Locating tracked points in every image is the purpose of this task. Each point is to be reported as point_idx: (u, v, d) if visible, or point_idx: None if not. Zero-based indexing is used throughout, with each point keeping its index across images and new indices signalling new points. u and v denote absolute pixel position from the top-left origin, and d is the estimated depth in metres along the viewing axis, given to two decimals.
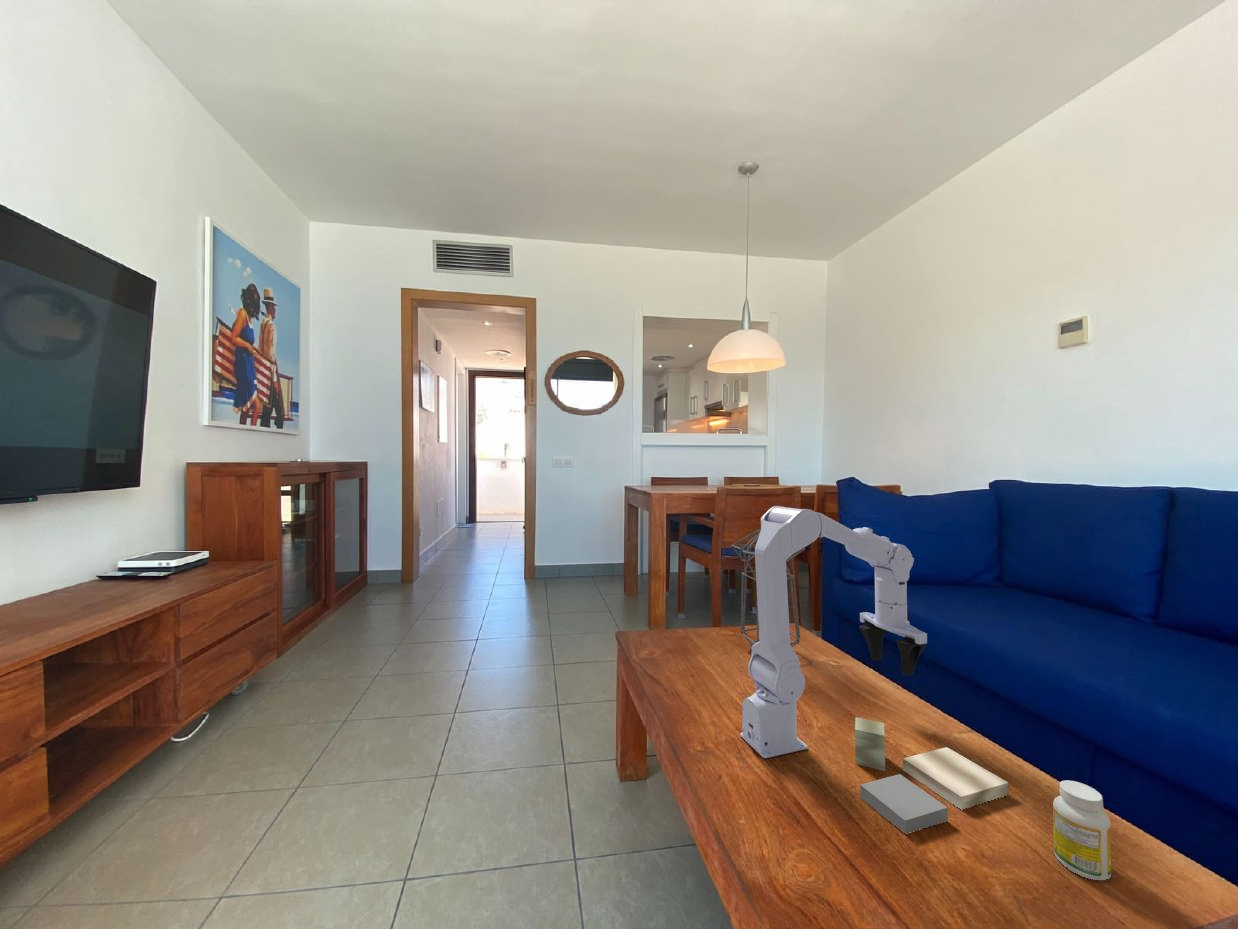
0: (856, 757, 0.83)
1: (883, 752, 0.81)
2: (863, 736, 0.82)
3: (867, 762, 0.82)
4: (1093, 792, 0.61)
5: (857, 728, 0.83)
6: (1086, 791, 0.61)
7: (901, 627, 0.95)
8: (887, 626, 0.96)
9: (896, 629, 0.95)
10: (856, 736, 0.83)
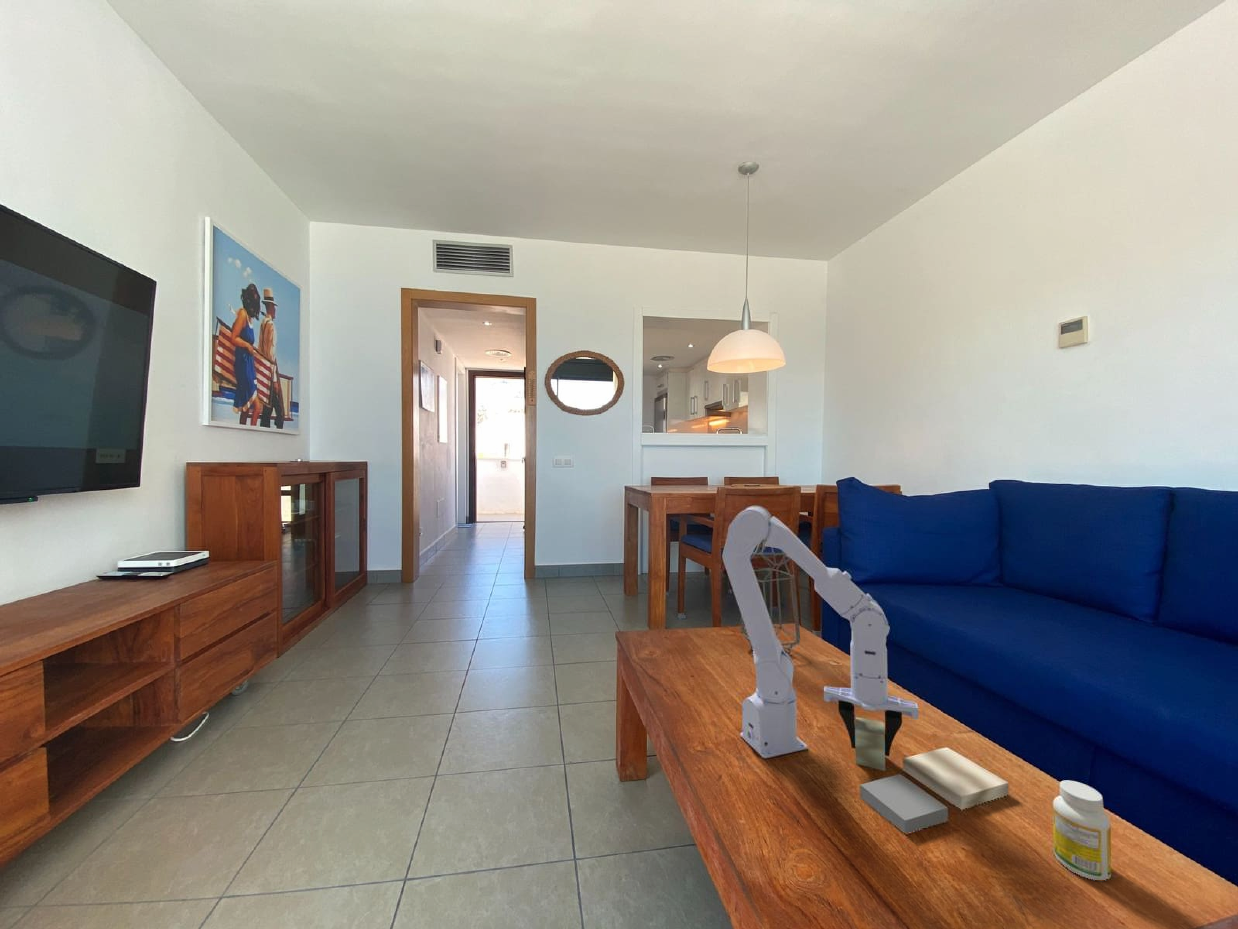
0: (856, 757, 0.83)
1: (883, 752, 0.81)
2: (863, 736, 0.82)
3: (867, 762, 0.82)
4: (1093, 792, 0.61)
5: (857, 728, 0.83)
6: (1086, 791, 0.61)
7: (850, 692, 0.86)
8: None
9: None
10: (856, 736, 0.83)
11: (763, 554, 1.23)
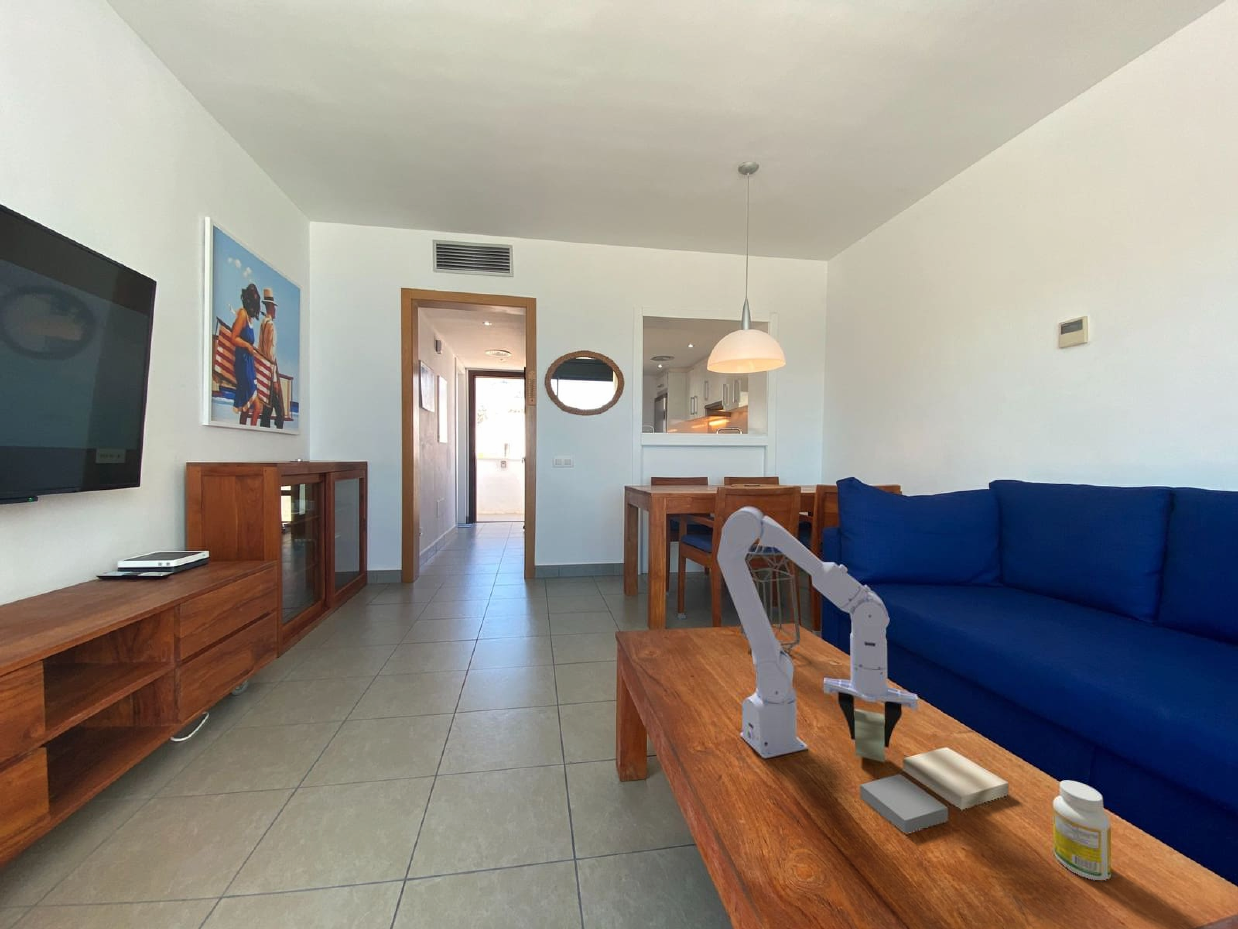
0: (856, 748, 0.83)
1: (883, 743, 0.81)
2: (862, 727, 0.82)
3: (867, 753, 0.82)
4: (1093, 792, 0.61)
5: (857, 719, 0.83)
6: (1086, 791, 0.61)
7: (850, 683, 0.86)
8: None
9: None
10: (856, 727, 0.83)
11: (763, 554, 1.23)
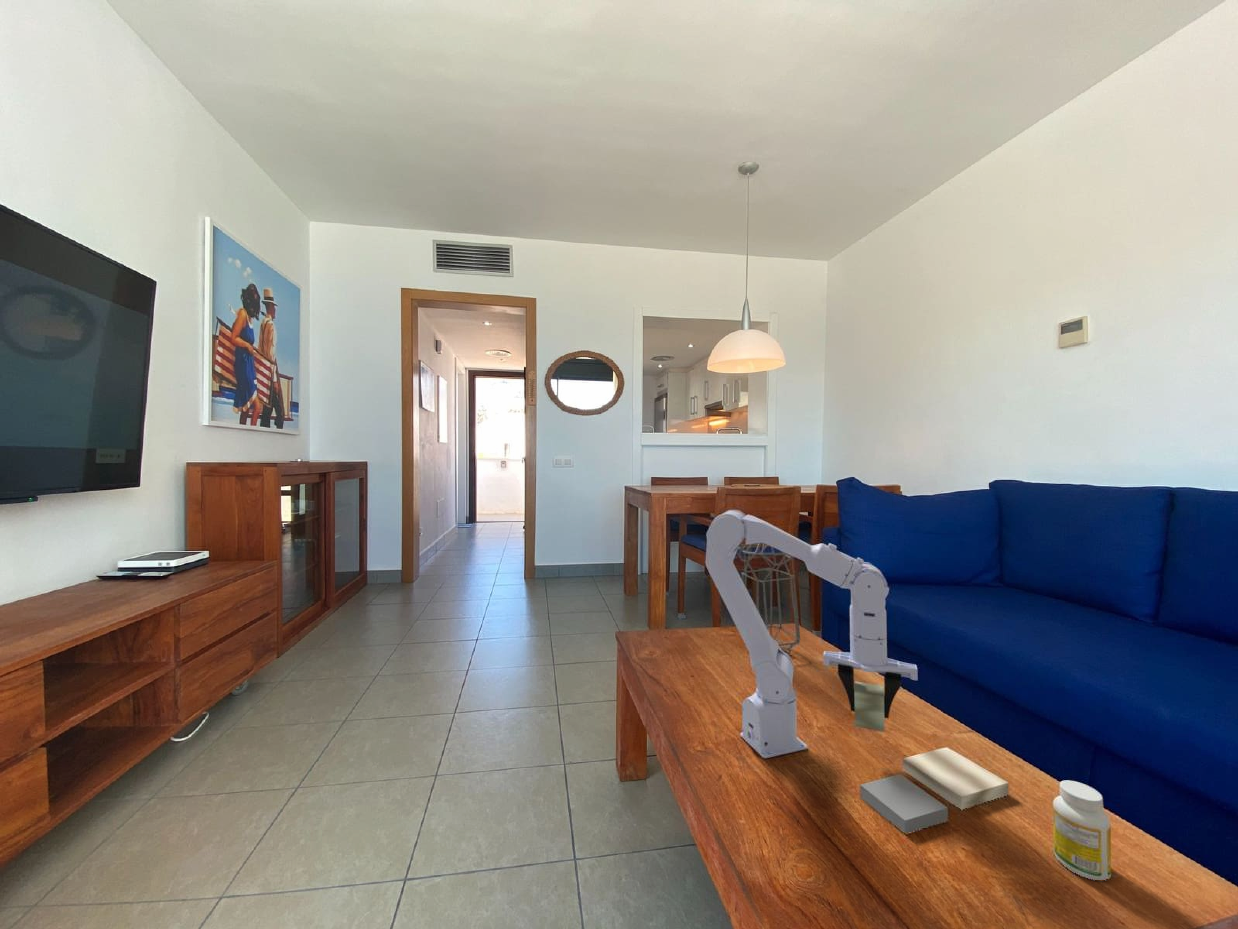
0: (855, 719, 0.83)
1: (882, 713, 0.81)
2: (862, 698, 0.82)
3: (866, 724, 0.82)
4: (1093, 792, 0.61)
5: (857, 691, 0.83)
6: (1086, 791, 0.61)
7: (850, 656, 0.86)
8: None
9: None
10: (855, 698, 0.83)
11: (763, 554, 1.23)
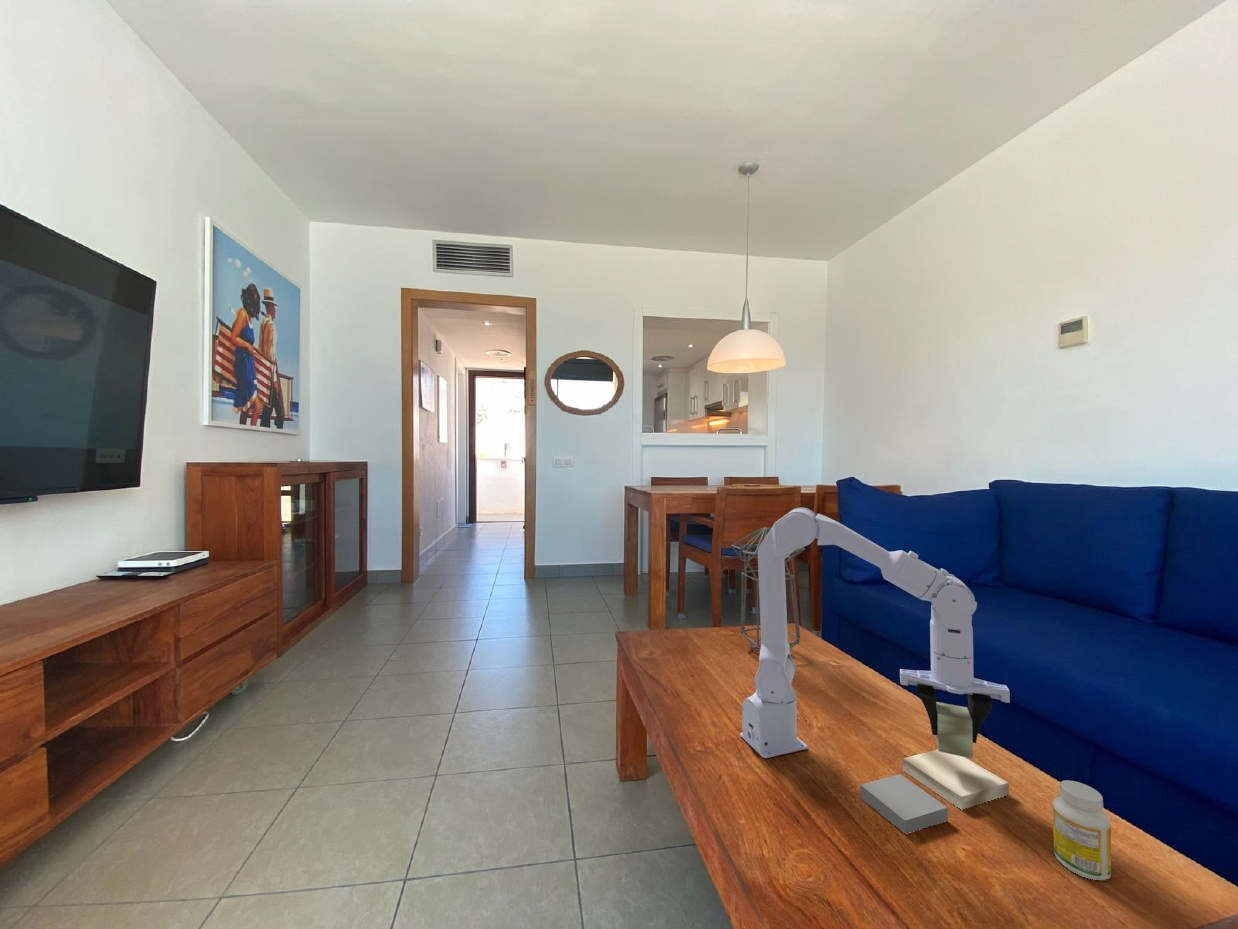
0: (939, 744, 0.77)
1: (970, 738, 0.75)
2: (947, 721, 0.76)
3: (952, 749, 0.76)
4: (1093, 792, 0.61)
5: (940, 713, 0.77)
6: (1086, 791, 0.61)
7: (930, 675, 0.80)
8: None
9: None
10: (939, 721, 0.77)
11: None
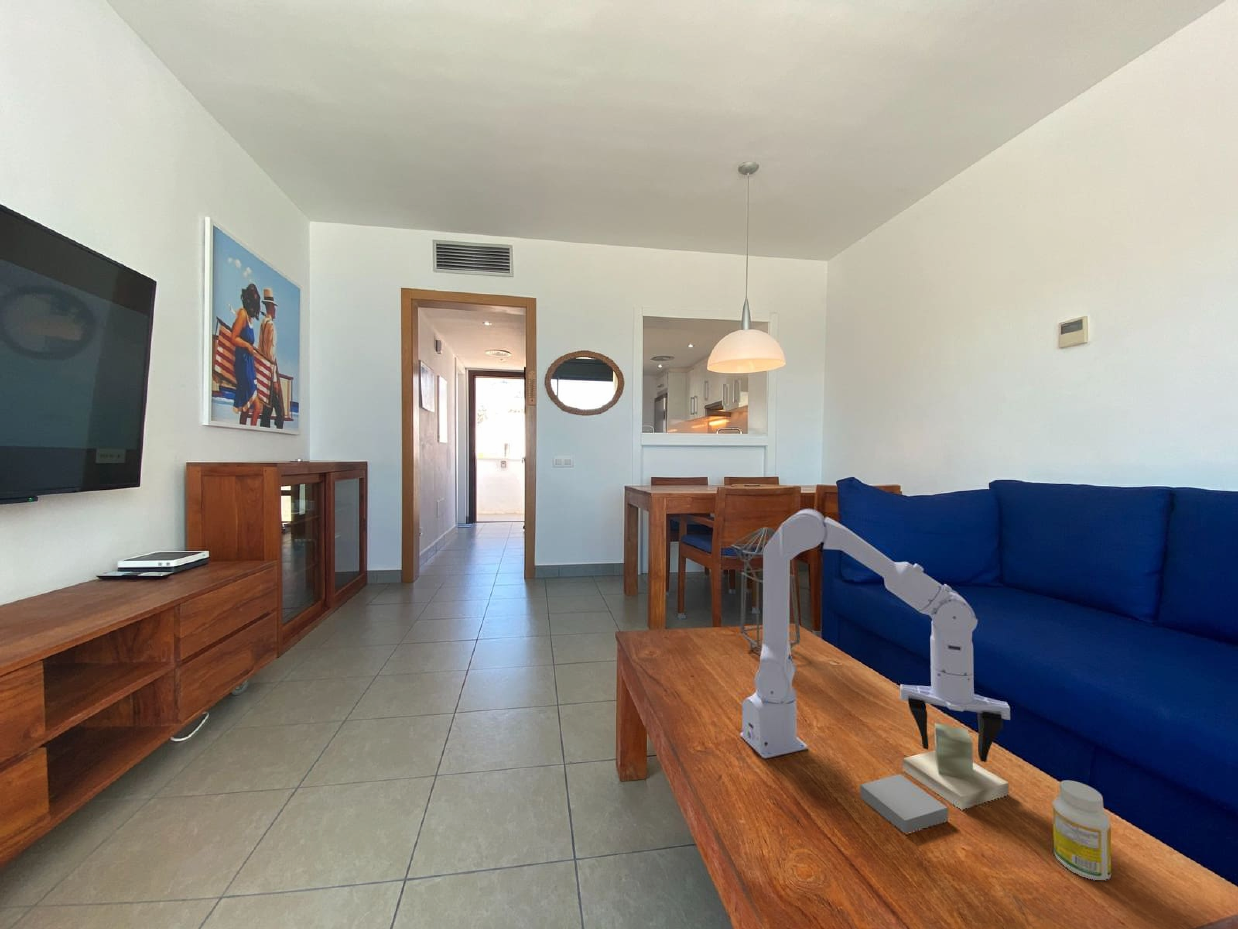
0: (939, 766, 0.77)
1: (971, 761, 0.75)
2: (947, 744, 0.76)
3: (952, 772, 0.76)
4: (1093, 792, 0.61)
5: (940, 735, 0.77)
6: (1086, 791, 0.61)
7: (930, 690, 0.80)
8: None
9: None
10: (939, 744, 0.77)
11: None
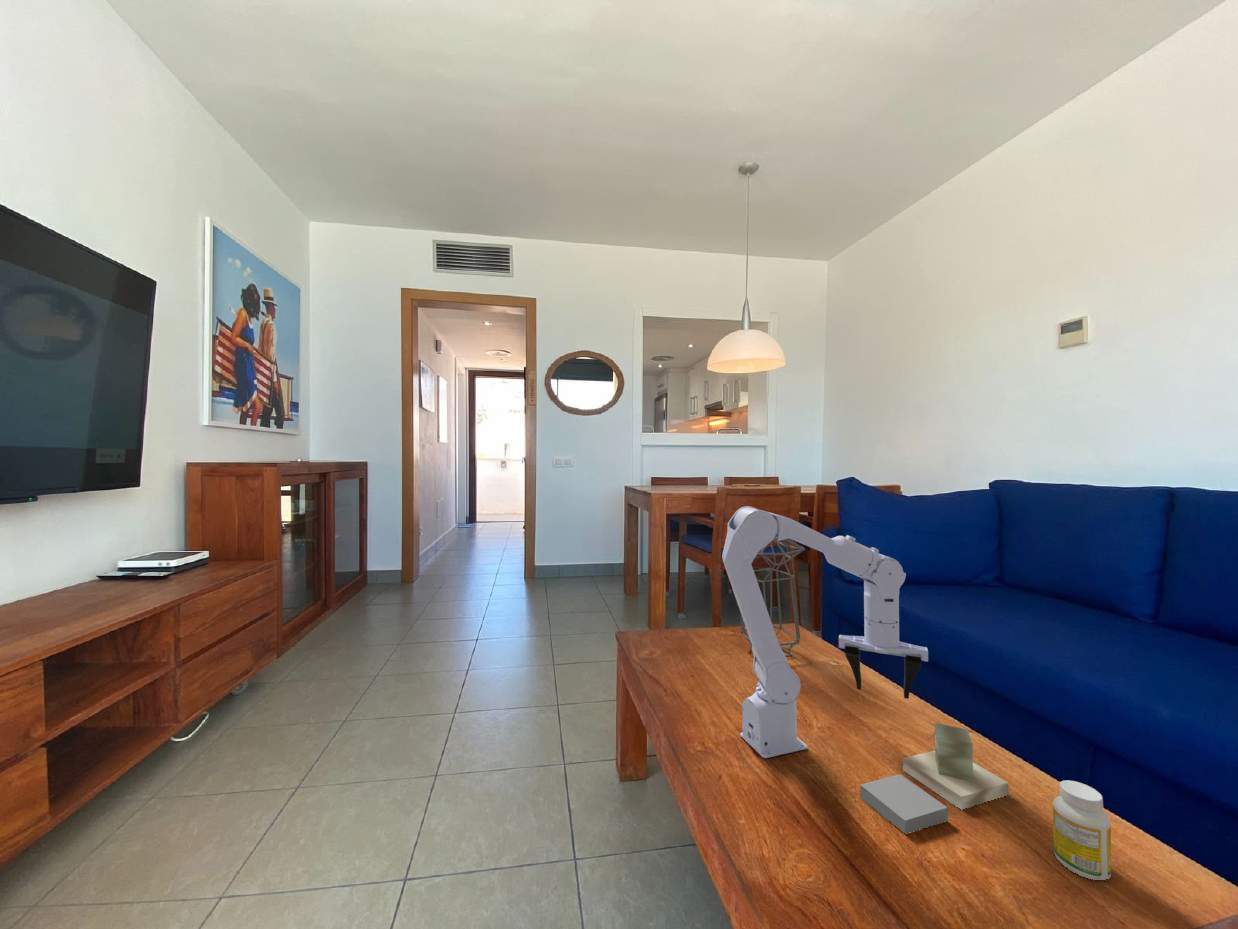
0: (939, 766, 0.77)
1: (971, 761, 0.75)
2: (947, 744, 0.76)
3: (952, 772, 0.76)
4: (1093, 792, 0.61)
5: (940, 735, 0.77)
6: (1086, 791, 0.61)
7: (864, 639, 0.91)
8: None
9: None
10: (939, 744, 0.77)
11: (763, 554, 1.23)
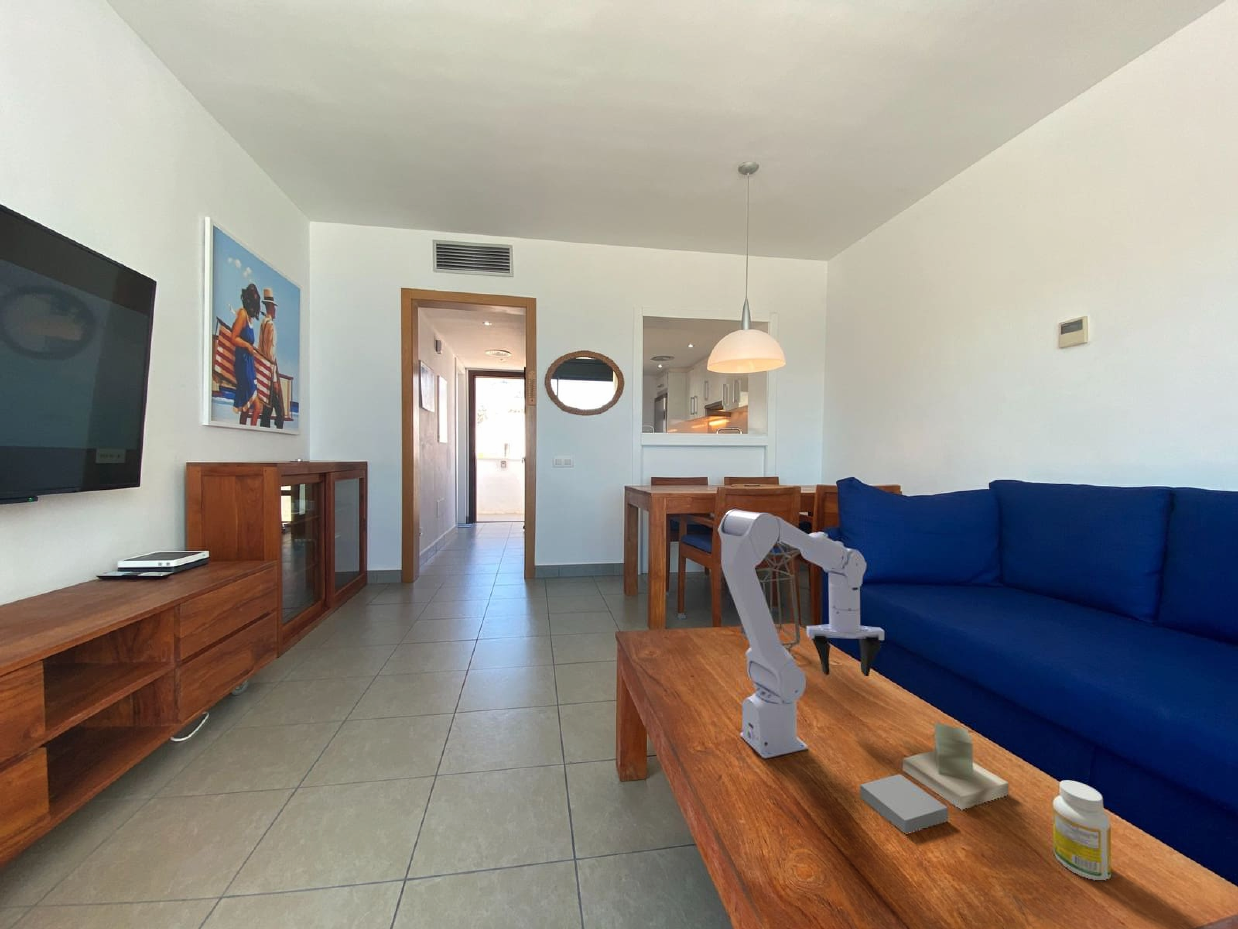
0: (939, 766, 0.77)
1: (971, 761, 0.75)
2: (947, 744, 0.76)
3: (952, 772, 0.76)
4: (1093, 792, 0.61)
5: (940, 735, 0.77)
6: (1086, 791, 0.61)
7: (828, 627, 0.98)
8: None
9: None
10: (939, 744, 0.77)
11: None
